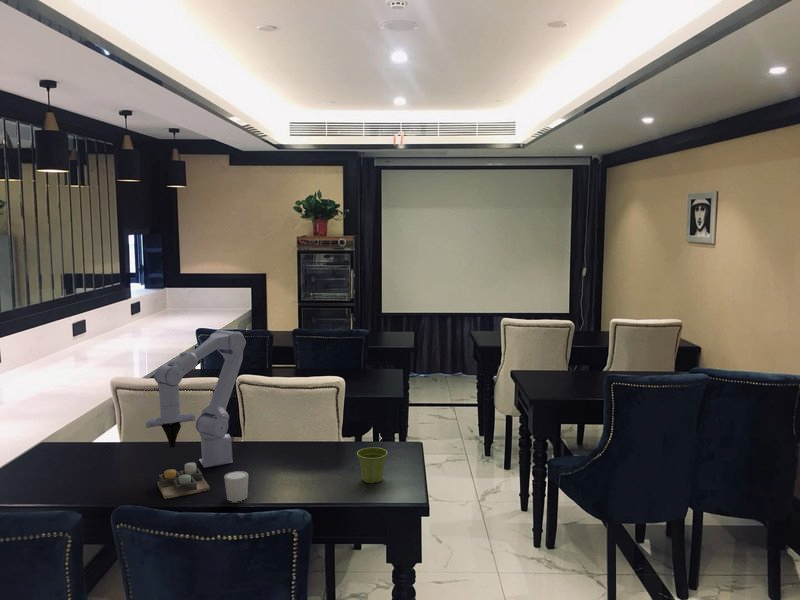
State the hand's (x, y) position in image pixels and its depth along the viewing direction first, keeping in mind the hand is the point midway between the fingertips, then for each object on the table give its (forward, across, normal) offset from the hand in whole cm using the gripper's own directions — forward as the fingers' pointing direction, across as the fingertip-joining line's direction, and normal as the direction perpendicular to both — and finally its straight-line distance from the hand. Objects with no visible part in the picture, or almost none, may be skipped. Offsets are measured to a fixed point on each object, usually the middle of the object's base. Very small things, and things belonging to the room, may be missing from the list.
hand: (172, 446), depth 215 cm
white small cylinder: (+7, -4, +7) cm, 11 cm away
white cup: (+10, -13, +26) cm, 31 cm away
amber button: (+8, +2, +7) cm, 11 cm away
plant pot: (+10, -53, +33) cm, 63 cm away
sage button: (+8, -1, +13) cm, 16 cm away
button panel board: (+10, -1, +10) cm, 14 cm away
